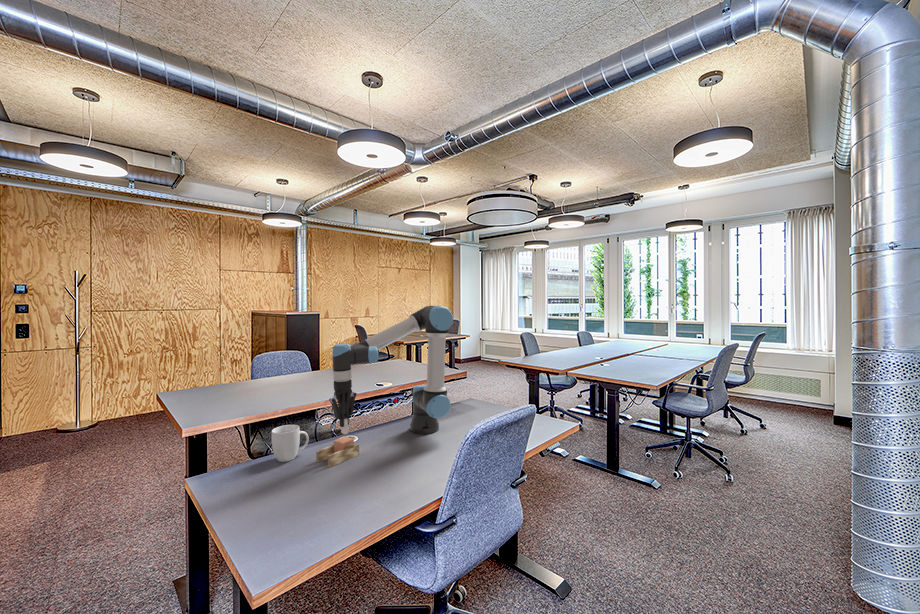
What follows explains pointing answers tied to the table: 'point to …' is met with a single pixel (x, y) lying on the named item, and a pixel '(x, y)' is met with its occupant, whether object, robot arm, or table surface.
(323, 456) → the tan boxy piece
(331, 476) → the table surface
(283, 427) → the mug
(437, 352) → the robot arm
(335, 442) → the block
